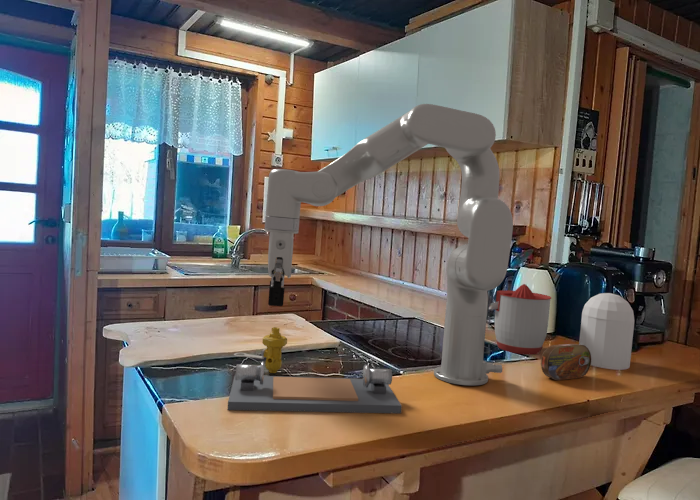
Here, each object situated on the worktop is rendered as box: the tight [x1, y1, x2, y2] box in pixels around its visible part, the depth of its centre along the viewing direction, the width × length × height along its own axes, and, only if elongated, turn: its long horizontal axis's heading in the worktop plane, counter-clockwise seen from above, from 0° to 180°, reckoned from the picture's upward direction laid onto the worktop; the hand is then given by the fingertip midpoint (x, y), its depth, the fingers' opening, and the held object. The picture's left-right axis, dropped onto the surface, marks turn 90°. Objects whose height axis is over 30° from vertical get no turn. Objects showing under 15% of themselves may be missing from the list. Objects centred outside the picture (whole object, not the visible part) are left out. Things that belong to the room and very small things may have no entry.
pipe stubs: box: [235, 361, 393, 394], centre depth 107 cm, size 31×4×5 cm, turn 98°
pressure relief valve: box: [233, 326, 288, 374], centre depth 123 cm, size 6×12×10 cm, turn 78°
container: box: [578, 292, 635, 371], centre depth 152 cm, size 14×13×20 cm
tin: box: [540, 343, 592, 381], centre depth 135 cm, size 15×3×8 cm, turn 116°
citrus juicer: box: [488, 283, 552, 356], centre depth 160 cm, size 16×17×20 cm
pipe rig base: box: [227, 374, 402, 414], centre depth 108 cm, size 32×16×2 cm, turn 98°
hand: (275, 301), depth 121 cm, fingers open, 9 cm apart
